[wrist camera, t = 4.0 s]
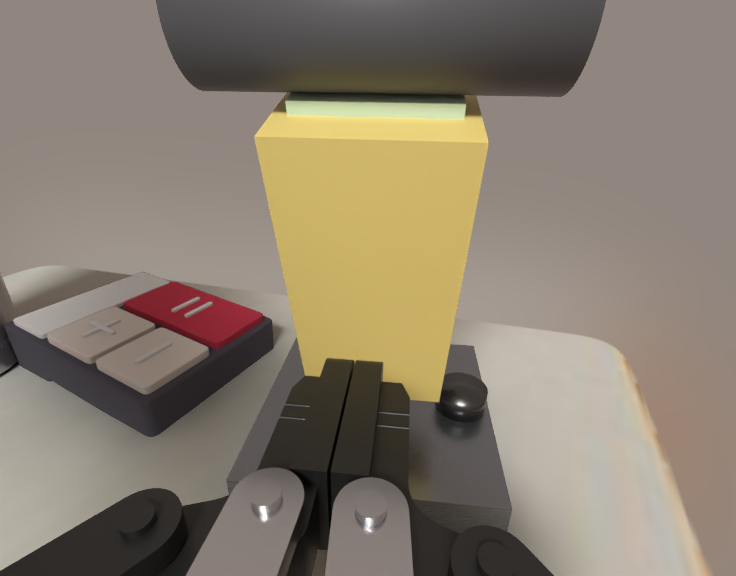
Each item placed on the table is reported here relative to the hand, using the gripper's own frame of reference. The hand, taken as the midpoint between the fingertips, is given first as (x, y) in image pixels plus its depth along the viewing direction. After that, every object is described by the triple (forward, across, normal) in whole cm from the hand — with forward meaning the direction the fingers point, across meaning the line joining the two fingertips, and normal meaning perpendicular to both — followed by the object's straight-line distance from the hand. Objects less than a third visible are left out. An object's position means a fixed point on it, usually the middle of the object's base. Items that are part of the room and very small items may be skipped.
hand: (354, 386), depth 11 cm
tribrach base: (+9, 0, +11) cm, 14 cm away
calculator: (+15, +18, +12) cm, 26 cm away
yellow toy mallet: (+9, 0, +6) cm, 11 cm away
